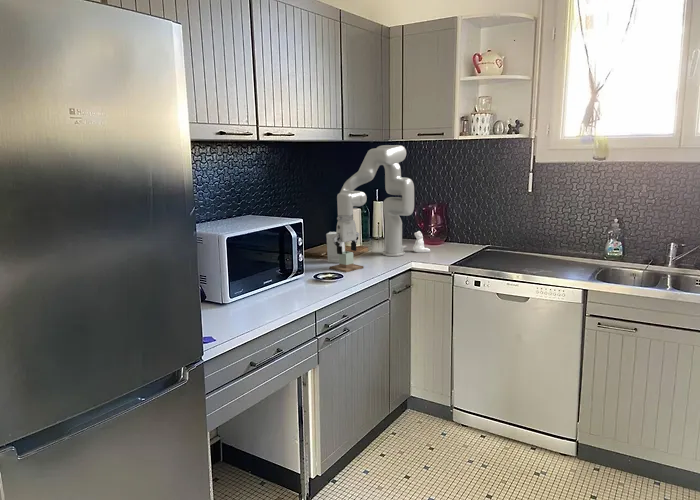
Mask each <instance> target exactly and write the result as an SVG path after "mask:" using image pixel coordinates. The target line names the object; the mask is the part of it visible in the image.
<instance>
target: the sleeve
mask: <svg viewBox="0 0 700 500" xmlns="http://www.w3.org/2000/svg"><path fill="white" fill-rule="evenodd" d="M354 264H355V263H354V252H352V251H347V250H345V252H342V254H339V263H338V265H339V267H344V268H349V267H353V266H354Z"/></svg>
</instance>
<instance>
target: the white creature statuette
mask: <svg viewBox="0 0 700 500" xmlns="http://www.w3.org/2000/svg"><path fill="white" fill-rule="evenodd" d="M414 237H415V238H416V240H415V243H414V245H413V247H412V250H413V252H414V253H418V254H421V253H424V254H425V253H426V254H429V253H431V249H430V248H428V247H425V242H424V236H423V233H422V232H421V231H420V230H418V231H417V232H414Z"/></svg>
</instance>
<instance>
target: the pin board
mask: <svg viewBox="0 0 700 500" xmlns="http://www.w3.org/2000/svg"><path fill="white" fill-rule="evenodd" d="M364 267H365V266H364V265H360V264H355V263H354V266H353V267H349V268H344V267H339V264H335V265H331V266H329V267H328V268H329V269H330V270H334V271H338V272H343V273H349V272H350V273H351V272H353V271H357V270H362V269H364Z"/></svg>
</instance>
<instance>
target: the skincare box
mask: <svg viewBox="0 0 700 500" xmlns="http://www.w3.org/2000/svg"><path fill="white" fill-rule="evenodd" d="M335 236H336V231H329V232H327V233H326V234H325V237H326V248H327V249H326V252H327V263H329V264H331V263H333V264H334V263H337V264H339V254H337V246H336V245H335V244H334V242H333V237H335ZM339 243H340V242H339ZM345 243H346V242H343V243H342V245H341V246H342V252H345V251H346V244H345Z"/></svg>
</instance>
